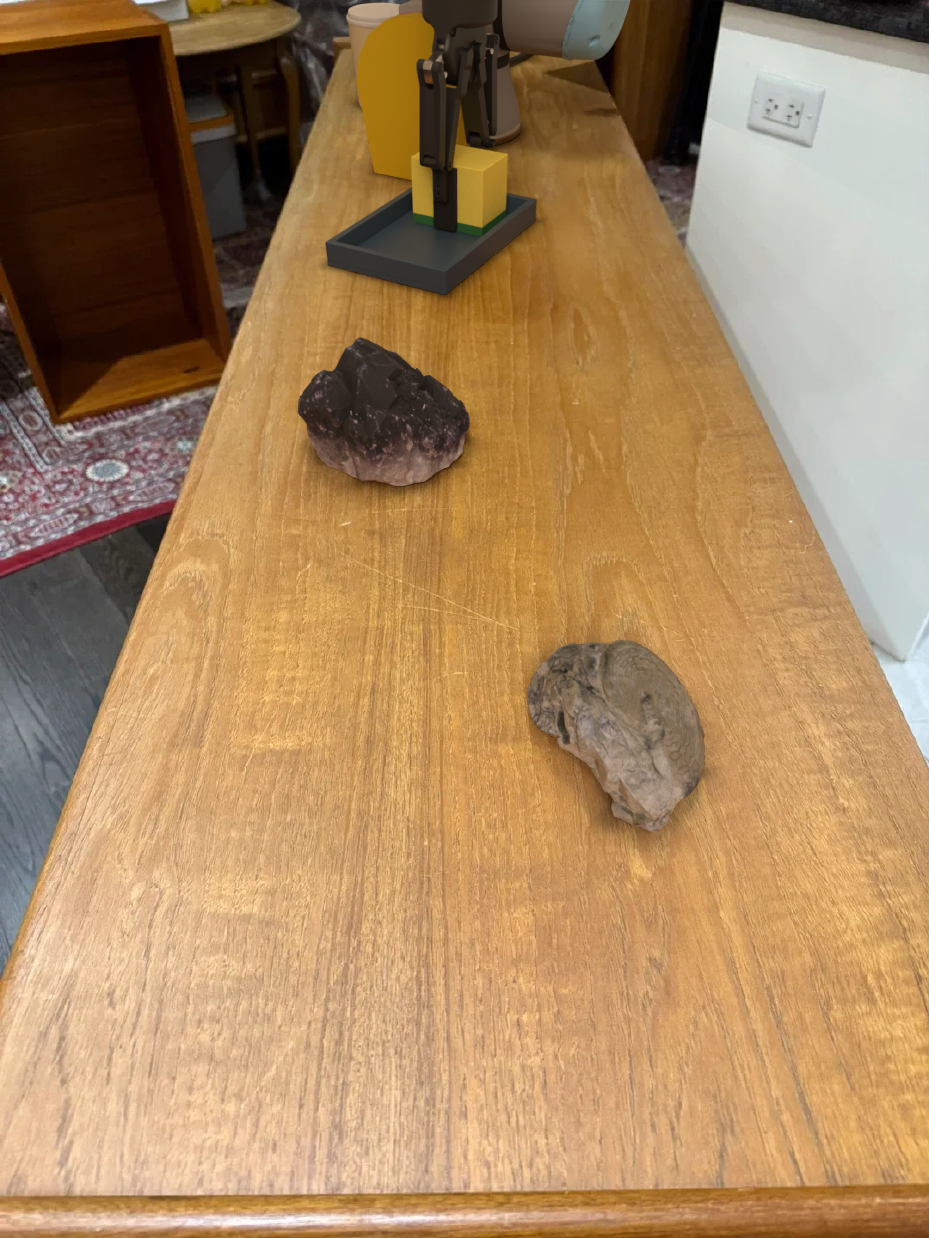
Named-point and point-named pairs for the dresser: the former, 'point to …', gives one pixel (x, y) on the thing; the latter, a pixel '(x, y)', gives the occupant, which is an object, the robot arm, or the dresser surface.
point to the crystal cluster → (382, 417)
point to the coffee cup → (366, 25)
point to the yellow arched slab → (395, 89)
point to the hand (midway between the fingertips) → (459, 217)
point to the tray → (422, 245)
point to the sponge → (466, 189)
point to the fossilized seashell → (622, 725)
